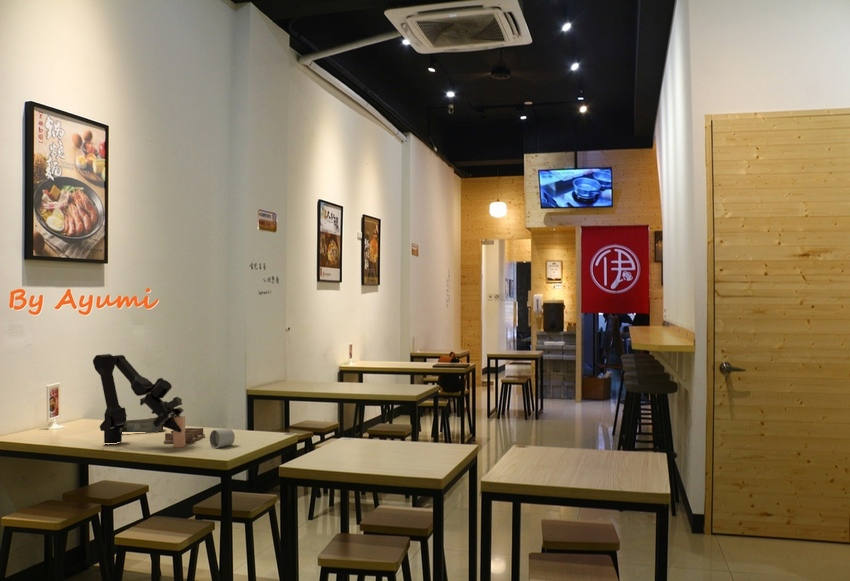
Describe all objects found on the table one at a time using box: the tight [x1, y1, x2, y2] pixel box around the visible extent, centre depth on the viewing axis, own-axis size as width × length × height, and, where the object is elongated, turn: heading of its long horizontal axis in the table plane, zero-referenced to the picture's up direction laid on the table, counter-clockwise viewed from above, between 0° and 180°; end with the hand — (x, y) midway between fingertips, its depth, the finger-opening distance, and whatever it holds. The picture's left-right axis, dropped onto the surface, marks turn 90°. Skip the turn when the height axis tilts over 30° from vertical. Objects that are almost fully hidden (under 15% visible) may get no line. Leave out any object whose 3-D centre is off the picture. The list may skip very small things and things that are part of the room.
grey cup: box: [208, 428, 236, 449], centre depth 294 cm, size 11×8×8 cm
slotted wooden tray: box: [163, 427, 206, 445], centre depth 308 cm, size 12×16×4 cm
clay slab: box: [172, 415, 186, 448], centre depth 295 cm, size 4×3×12 cm
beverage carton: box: [120, 416, 164, 433], centre depth 330 cm, size 8×19×7 cm, turn 108°
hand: (182, 430), depth 294 cm, fingers closed on clay slab, 3 cm apart
